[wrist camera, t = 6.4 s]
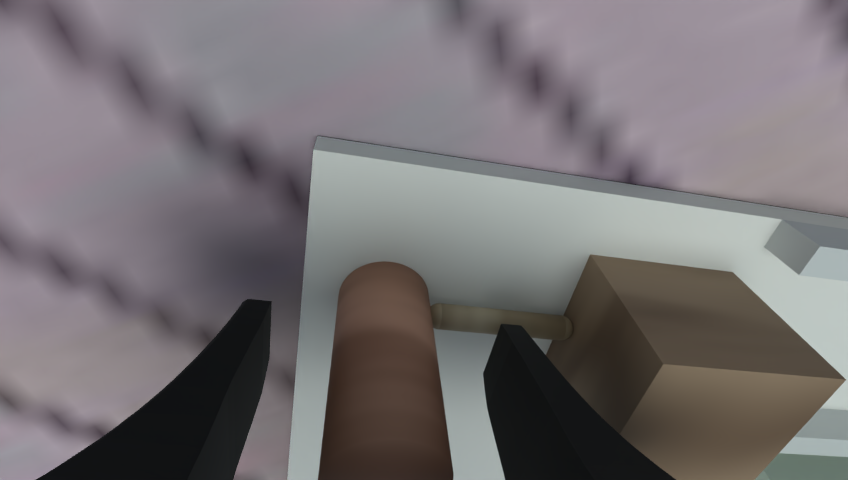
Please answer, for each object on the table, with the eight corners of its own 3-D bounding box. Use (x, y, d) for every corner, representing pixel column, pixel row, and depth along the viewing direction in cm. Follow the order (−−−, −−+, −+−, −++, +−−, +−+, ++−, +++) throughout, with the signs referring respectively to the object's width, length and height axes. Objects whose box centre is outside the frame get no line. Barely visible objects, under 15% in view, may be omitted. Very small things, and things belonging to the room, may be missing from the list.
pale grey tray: (779, 508, 26) (815, 558, 24) (288, 492, 22) (278, 552, 20) (1045, 248, 18) (1136, 290, 15) (317, 135, 13) (306, 174, 11)
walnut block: (664, 379, 18) (774, 549, 13) (331, 352, 16) (309, 543, 11) (732, 272, 16) (902, 432, 11) (347, 224, 14) (329, 395, 8)
